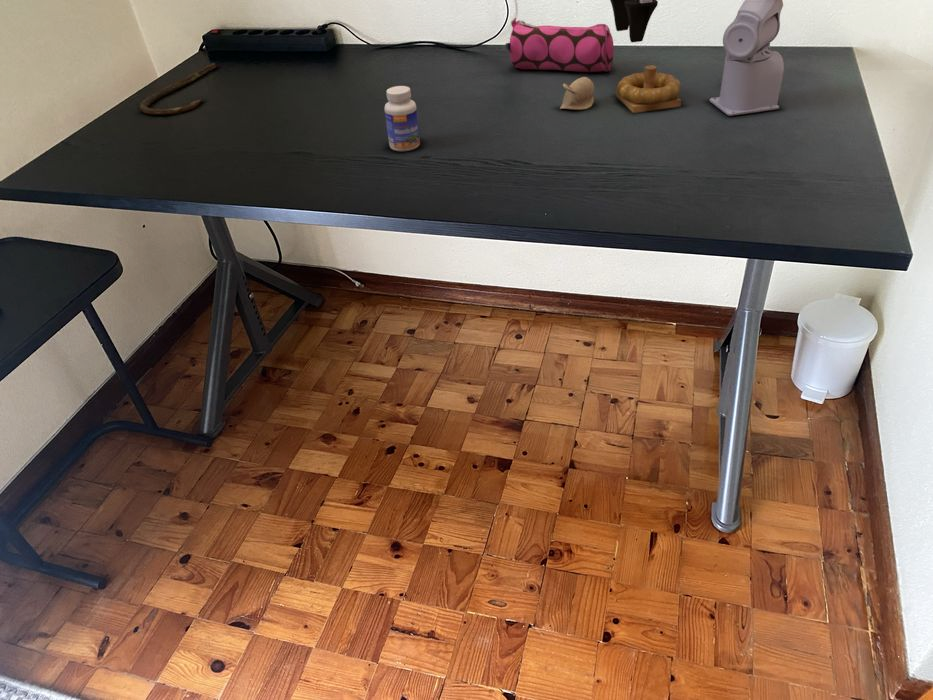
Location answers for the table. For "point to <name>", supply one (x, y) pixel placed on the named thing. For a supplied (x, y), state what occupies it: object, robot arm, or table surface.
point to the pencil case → (561, 47)
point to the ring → (634, 93)
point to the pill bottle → (401, 119)
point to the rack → (650, 84)
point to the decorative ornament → (578, 94)
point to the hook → (169, 90)
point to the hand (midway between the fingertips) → (629, 35)
